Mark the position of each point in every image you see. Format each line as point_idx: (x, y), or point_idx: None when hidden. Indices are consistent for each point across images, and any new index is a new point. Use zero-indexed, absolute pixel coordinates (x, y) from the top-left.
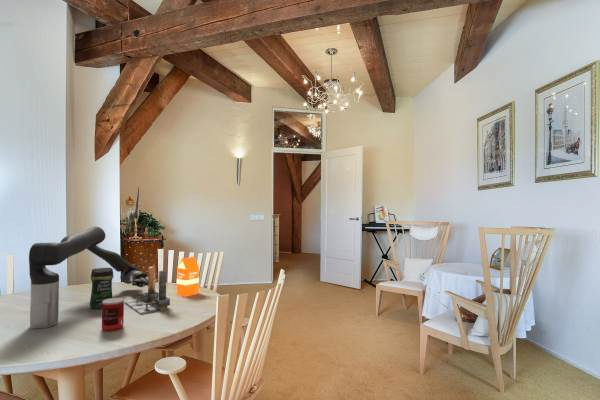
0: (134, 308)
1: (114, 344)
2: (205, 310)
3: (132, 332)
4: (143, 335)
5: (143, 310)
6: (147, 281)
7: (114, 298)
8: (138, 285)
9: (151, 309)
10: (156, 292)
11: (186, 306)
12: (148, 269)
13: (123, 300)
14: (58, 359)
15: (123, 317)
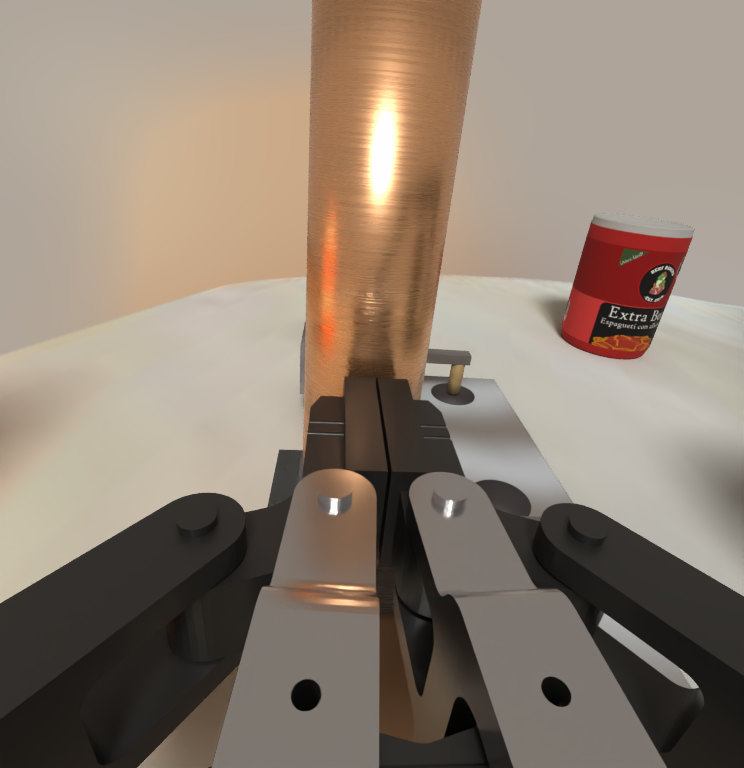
0: (541, 454)
1: (559, 290)
2: (188, 308)
3: (519, 306)
4: (486, 290)
5: (474, 396)
6: (418, 419)
7: (649, 227)
8: (644, 677)
9: (422, 388)
10: (283, 485)
11: (195, 367)
12: (475, 37)
13: (593, 219)
14: (670, 295)
15: (570, 296)
